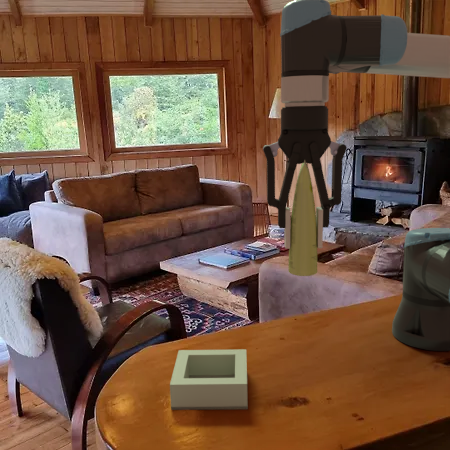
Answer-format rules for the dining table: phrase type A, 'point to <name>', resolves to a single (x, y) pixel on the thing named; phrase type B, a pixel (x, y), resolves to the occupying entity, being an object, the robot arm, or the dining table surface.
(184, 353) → the socket block
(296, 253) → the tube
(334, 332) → the dining table surface
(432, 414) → the dining table surface
